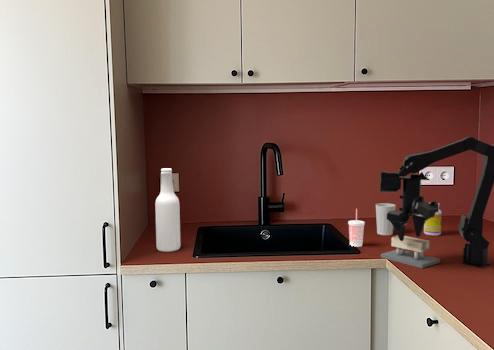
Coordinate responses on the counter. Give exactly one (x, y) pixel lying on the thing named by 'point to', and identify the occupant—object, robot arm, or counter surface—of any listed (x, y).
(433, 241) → the counter surface
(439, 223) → the supplement bottle
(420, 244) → the shelf board
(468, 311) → the counter surface
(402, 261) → the peg stand
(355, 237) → the beverage cup
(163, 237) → the white bottle
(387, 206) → the cup
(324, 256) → the counter surface
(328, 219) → the counter surface
